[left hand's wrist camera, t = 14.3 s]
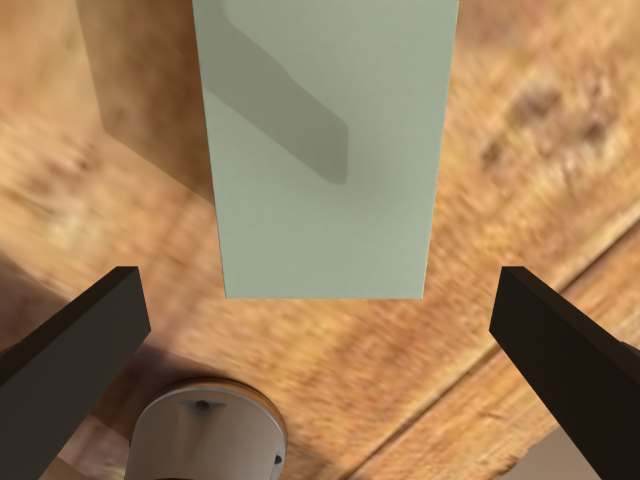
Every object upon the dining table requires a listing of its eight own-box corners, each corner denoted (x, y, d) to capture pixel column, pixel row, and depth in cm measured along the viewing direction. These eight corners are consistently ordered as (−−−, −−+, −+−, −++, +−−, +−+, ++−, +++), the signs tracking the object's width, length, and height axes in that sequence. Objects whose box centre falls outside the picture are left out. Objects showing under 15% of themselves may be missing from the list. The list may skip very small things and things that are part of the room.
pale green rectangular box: (237, -49, 22) (171, -166, 12) (411, -49, 21) (480, -168, 12) (257, 235, 28) (225, 299, 19) (390, 235, 28) (423, 299, 19)
